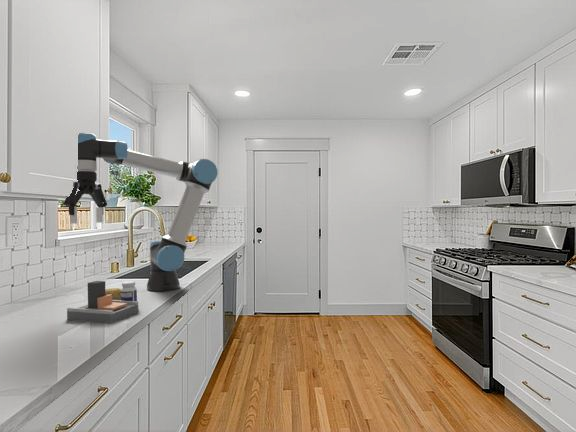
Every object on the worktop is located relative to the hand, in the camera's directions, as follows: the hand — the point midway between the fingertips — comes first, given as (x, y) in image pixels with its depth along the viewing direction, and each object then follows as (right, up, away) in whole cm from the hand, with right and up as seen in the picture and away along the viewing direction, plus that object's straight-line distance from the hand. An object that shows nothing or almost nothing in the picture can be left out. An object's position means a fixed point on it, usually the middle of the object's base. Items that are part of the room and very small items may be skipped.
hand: (87, 223), depth 154 cm
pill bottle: (+21, -33, -10) cm, 40 cm away
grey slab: (+17, -33, -21) cm, 43 cm away
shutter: (+21, -29, -22) cm, 42 cm away
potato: (+11, -33, -4) cm, 35 cm away
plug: (+14, -33, -20) cm, 41 cm away
